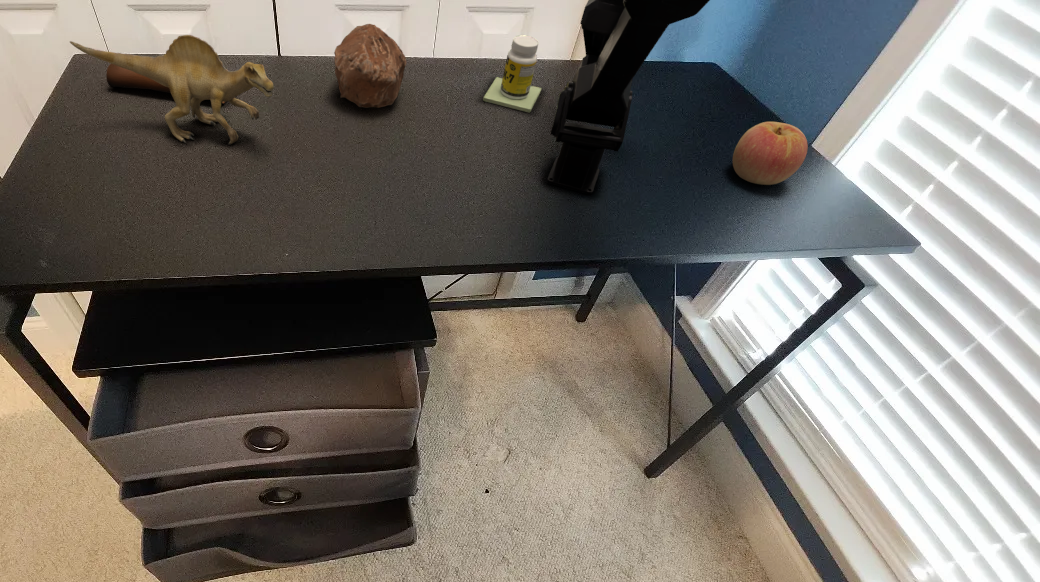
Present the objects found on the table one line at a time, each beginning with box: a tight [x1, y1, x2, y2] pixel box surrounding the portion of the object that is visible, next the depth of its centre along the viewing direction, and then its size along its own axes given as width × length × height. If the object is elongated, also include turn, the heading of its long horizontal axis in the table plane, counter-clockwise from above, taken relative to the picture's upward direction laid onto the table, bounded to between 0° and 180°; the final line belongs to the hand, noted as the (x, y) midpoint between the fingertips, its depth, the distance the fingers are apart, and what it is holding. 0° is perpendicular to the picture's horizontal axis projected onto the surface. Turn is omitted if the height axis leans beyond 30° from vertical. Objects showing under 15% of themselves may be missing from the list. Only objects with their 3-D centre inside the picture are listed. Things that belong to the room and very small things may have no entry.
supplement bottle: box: [501, 34, 539, 99], centre depth 96 cm, size 5×5×8 cm
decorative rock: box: [333, 23, 407, 109], centre depth 92 cm, size 13×11×10 cm
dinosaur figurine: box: [69, 34, 275, 145], centre depth 82 cm, size 8×26×13 cm, turn 81°
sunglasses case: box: [105, 63, 226, 105], centre depth 92 cm, size 18×7×7 cm
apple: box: [732, 121, 809, 186], centre depth 86 cm, size 9×9×8 cm
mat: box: [482, 76, 543, 114], centre depth 99 cm, size 8×8×1 cm
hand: (597, 61), depth 83 cm, fingers open, 9 cm apart
